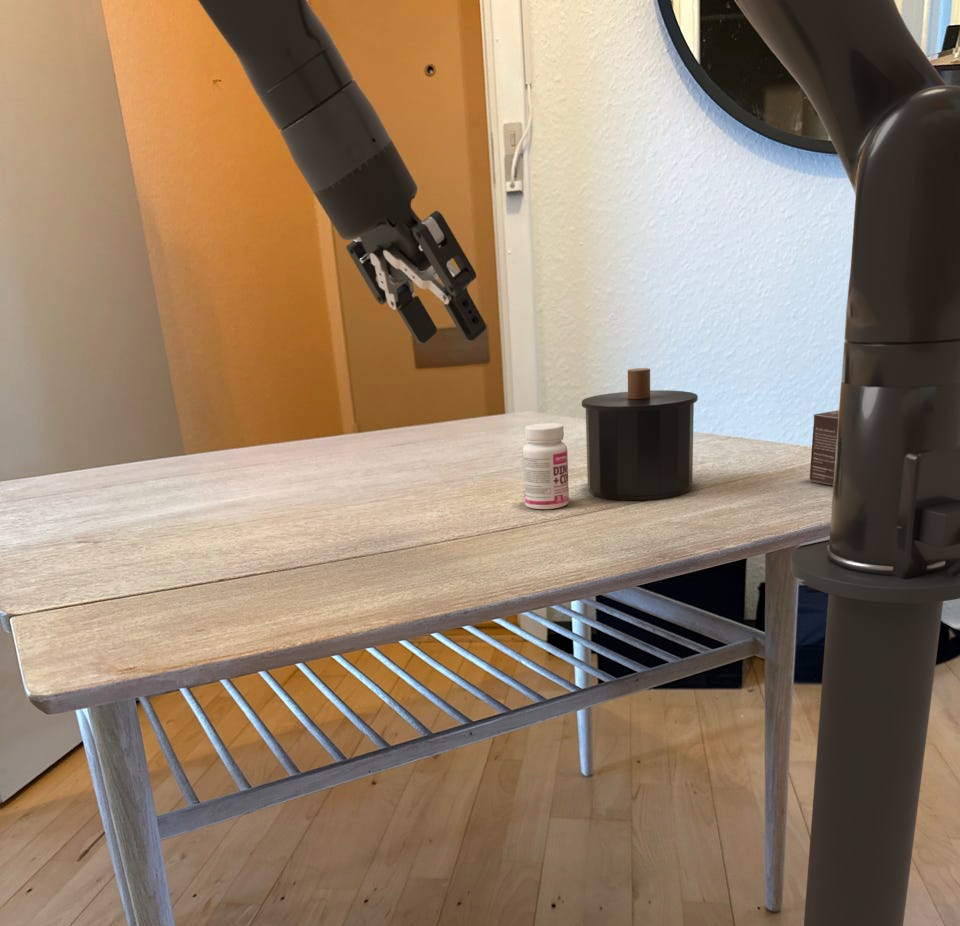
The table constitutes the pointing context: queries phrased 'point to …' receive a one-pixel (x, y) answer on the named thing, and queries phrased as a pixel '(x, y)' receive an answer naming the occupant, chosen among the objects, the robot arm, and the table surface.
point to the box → (824, 447)
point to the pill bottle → (545, 467)
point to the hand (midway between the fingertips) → (451, 337)
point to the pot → (640, 453)
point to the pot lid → (639, 396)
